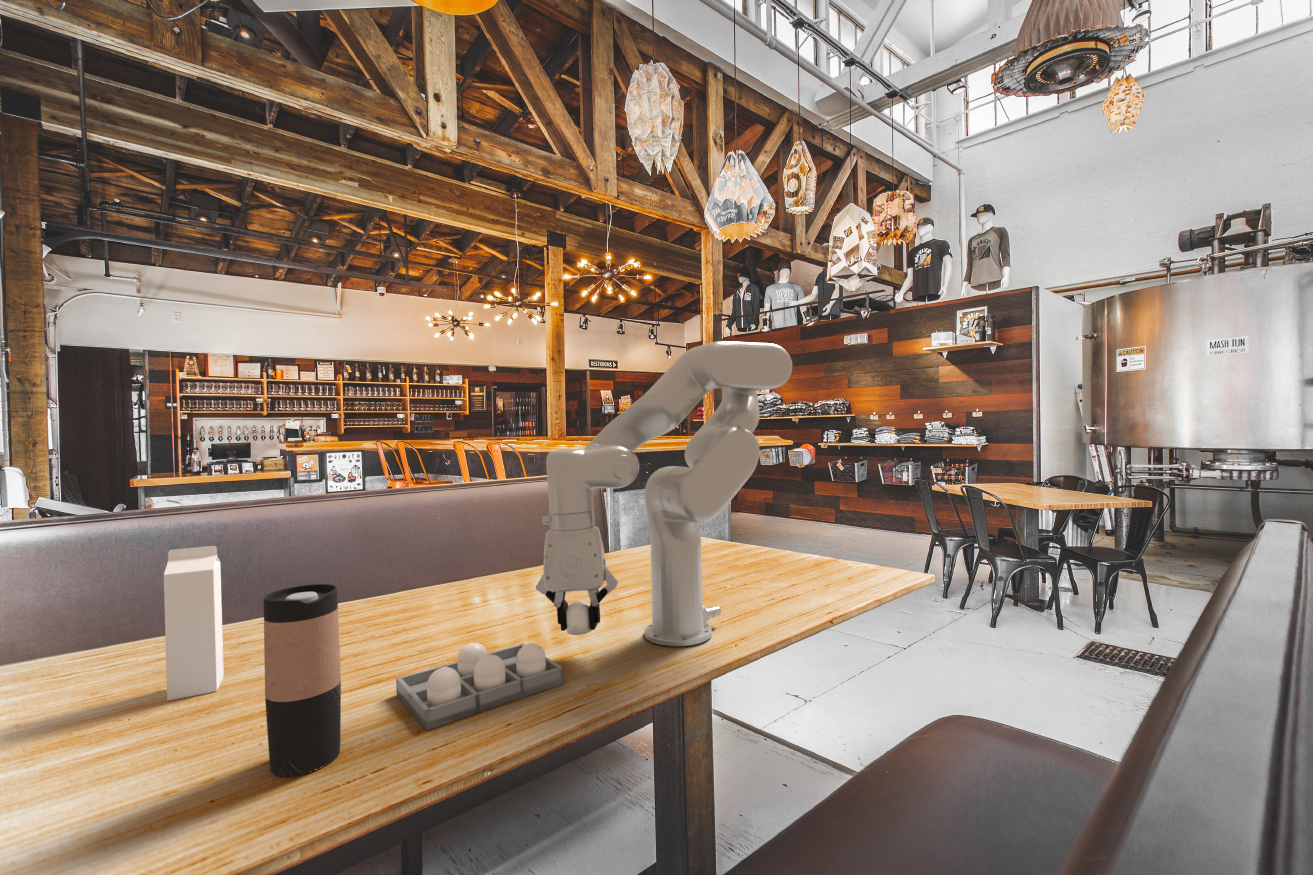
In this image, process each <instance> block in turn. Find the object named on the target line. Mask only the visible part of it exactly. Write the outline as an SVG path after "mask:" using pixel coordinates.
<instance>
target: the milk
mask: <svg viewBox="0 0 1313 875" xmlns="http://www.w3.org/2000/svg"><path fill="white" fill-rule="evenodd" d="M221 566H222V565H221V561H220V558H219V557H218V548H217V546H215V545H208V546H198V547H189V548H188V547H187V548H186V547H185V548H178V549H176V548H175V549H169V551H168V552H167V563H166V566H165V568H164V569H165V570H164V572H163V592H164V593H163V595H164V596H163V598H164V632H165V638H164V639H165V660H166V661H165V664H166V666H165V667H166V668H165V669H166V698H167V700H166V701H168V700H170V701H174V699H175V700H178V699H179V698H180V699H183V698H184V697H185V698H190V697H195V696H199V695H200V696H201V695H206V694H210V693H216V692H218V690H219V687H221V686H220V685H221V683H222V682H223V679H224V677H225V676H224V675H225V673H224V643H223V641H224V640H223V638H224V637H223V608H222V606H223V605H222V573H221V572H222V571H221V570H222V568H221Z"/></svg>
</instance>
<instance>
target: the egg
mask: <svg viewBox="0 0 1313 875" xmlns="http://www.w3.org/2000/svg"><path fill="white" fill-rule="evenodd" d="M589 606H590V605H589V604H588V603H587V602H586V601H583V600H575V601H573V602H571V603H570V604H568V608H567V610H566V627H567V629H566V633H567V634H568V635H571V636H581V635H585V634H589V633H590V632H592V631H593V630H591V629H590V623H589Z"/></svg>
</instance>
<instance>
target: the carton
mask: <svg viewBox="0 0 1313 875" xmlns="http://www.w3.org/2000/svg"><path fill="white" fill-rule="evenodd" d="M456 659H457V660H456V661H454V662H449V663H446V664H443V665H440V666H435V667H432V668H428V669H425V670H420V671H417V672H413V673H411V674H407V675H403V676H399V677H396V678H395V681H396V682H395V683H396V688H395V689H396V696H397V697H398V698H399V700H400V701H401V702H402V703H403V705H404V706H405V707H406V708H407V710H408V711H409V712H410V713H411V714H412V716H414V718H415V719H416V720H417V721H418V722H419V724H420V725H421V726H422V727H423V728H424V730H425V731H429V730H431V729H435V728H439V727H440V726H444V725H447V724H450V723H453V722H456V721H459V720H461V719H465V718H467V717H470V716H472V715H474V716H475V715H477V714H479V713H483V712H485V711H488V710H492V709H494V708H497V707H499V706H500V707H501V706H503V705H506V704H510V703H512V702H515V701H518V700H520V699H523V698H526V697H529V696H533V695H535V694H538V693H541V692H543V691H547V690H550V689H553V688H557V687H558V686H563V685H564V684H565V674H564V671H565V670H564V669H565V668H564V667H563V666H562V665H560V664H559V663H556V662H555V661H553V660H551V658H549V657H546V653H545V650H544V648H543V647H542V646H541V645H539V644H537V643H533V642H532V643H527V644H524V643H520V644H516V645H512V646H509V647H506V648H501V649H497V650H494V651H490V652H487V650H486V648H485V647H484V646H483V645H482V644H481V643H478V642H470V643H467V644H466V645H464V646H463V647H462V648H461V649H460V651H459V652H458V655H457V658H456Z"/></svg>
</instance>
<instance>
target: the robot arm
mask: <svg viewBox="0 0 1313 875" xmlns="http://www.w3.org/2000/svg"><path fill="white" fill-rule="evenodd" d="M792 372H793V361H792V358H791V356H790V353H788V351H787V350H786V349H785V348H784V347H782V346H780V345H778V344H775V343H768V342H748V341H730V340H728V341H727V340H719V341H712V342H709V343H704V344H702V345H698V346H695V347H692V348H689V349H688V350H686V351H685V352H684V353H683V354H682V355H680V356H679V357H678V358H677V360H675V362H674V363H673V364H672V365H671V366H670V367H669V368H668V369H667V370H666V371H665V372H664V373H663V374H662V375H661V376H660V377H659V379H657V381H656V382H655V383H654V384H653V385H652V386H651V387H650V388H649V389H648V390H647V391H646V392H645V393H644V394H643V395H642V396H641V397H640V398H638V399H637V400H636V401H634V402H633V403H632V404H631V405H630V406H628V408H626V409H625V410H623V412H621V413H619V415H617V416H616V417H614V419H612V420H611V421H610V422H609V423H608V424H606V426H605V427H603V428H602V430H600V431H599V433H597V435H596V436H595V437H594V438H593V439H592V440H591V441H590V442H589V443H588V444H587V445H586V446H585V447H584V448H571V449H570V448H569V449H568V448H567V449H557V450H553V451H551V452H549V453H548V454H547V456H546V458H545V460H546V461H545V462H546V464H545V465H546V466H545V467H546V479H547V480H546V482H547V492H548V493H547V494H548V495H547V496H548V511H549V512H548V514H547V515H543V516H541V524H543V525H548V526H549V527H548V528H549V530H547V531H546V532H545V537H544V547H543V574H542V576H541V577H540V579H539V580H538V582H537V584H536V586H535V590H536V591H538V592H539V593H541V594H542V595H544V596H545V597H546V598H547V599H548V600H549V601H550V602H551V603H552V604H553V606H554V607H555V608H556V615H557V624H558V625H560V630H561V631H567V627H566V610H567V608H568V606H569V603H568V602H567V600H566V595H567V592H582V591H585V592H586V591H587V594H588V596H589V597H588V598H589V600H590V603H589V604H590V605H589V623H590V629H591V630H592V631H595V630H596V628H597V626H598V624H600V622H601V609H600V607H601V606H600V603H601V602H602V601H603V599H604V598H605V597H606V596H607V595H608V594H609V593H611V592H612V591H614V589H616V588H617V587H618V586H619V581H618V580H617V579H616V578H615V576H614V575H613V574H612V573H611V571H610V570H609V568H608V567H607V562H606V556H605V549H604V543H603V540H602V535H601V532H600V527H598V526H596V522H595V520H596V519H595V505H594V491H593V489H621V488H622V489H623V488H624V487H627V486H629V485H630V484H632V483H633V482H634V481H635V480H636V479H637V477H638V475H639V472H640V461H639V458H638V456H637V454H635V451H636V450H637V449H638V448H640V447H641V446H643V445H644V444H645V443H649V441H652V440H653V439H656V438H658V437H661V436H663V435H665V434H667V433H669V432H671V431H672V430H674V429H676V428H677V427H678V426H679V425H680V424H681V423H682V422H683V421H684V420H685V418H686V417H687V416H688V415H689V414H690V412H692V411H693V409H695V407H696V406H697V405H698V404H699V402H700V401H702V399H703V398H704V397H705V396H706V395H707V393H709V392H710V391H712V390H715V389H721V390H722V399H721V403H720V404H719V405H718V407H717V408H716V409H715V411H714V412H713V413H712V415H711V416H710V417H709V418H708V419H707V420H706V421H705V422H704V423H703V425H702V426H700V428H699V429H698V430H697V431H696V432H695V433H694V434H693V435H692V437H691V438H690V439H689V441H688V442H687V444H686V446H685V449H684V450H685V451H684V460H685V462H686V464H687V466H679V465H670V466H664V467H661V468H658V469H657V470H655V471H654V472H653V473H652V474H651V475H650V476H649V478H648V479H647V481H646V484H645V489H644V501H645V502H644V503H645V509H646V513H647V518H648V525H649V535H650V536H649V537H650V539H649V541H650V543H649V544H650V573H651V574H650V576H651V577H650V578H651V583H650V585H651V616H652V619H651V620H652V622H651V623H649V624H648V625H646V627H645V628H644V638H646V640H647V641H649V642H650V643H652V644H656V645H658V646H664V647H665V646H666V647H688V646H689V647H690V646H694V645H698V644H702V643H703V642H706V641H708V640H710V638H712V635H713V632H712V631H713V628H712V627H711V625H710V624H708V621H710V619H711V618H715V617H718V616H721V614H722V613H721V612H722V610H721V608H720V606H718V605H714V606H711V607H708V608H707V607H706V606H705V605H704V602H703V598H704V597H703V571H702V570H703V569H702V565H703V564H702V562H703V561H702V536H701V530H700V526H699V524H700V523H706V522H709V521H711V520H713V519H715V518H717V516H718V515H719V514H720V513H722V511H723V510H725V508H726V507H727V506H728V505H729V503H730V502H731V501H732V500H733V498H734V497H735V496H737V494H738V493H739V491H740V490H741V489H742V487H743V486H744V485H745V484H746V482H748V480H749V479H750V478H751V476H752V475H753V473H754V472H755V470H756V468H757V465H758V462H759V458H760V445H759V441H758V439H757V437H756V435H754V431H755V430H756V429H757V426H758V425H759V422H760V405H759V397H758V392H760V391H767V390H768V391H769V390H773V389H774V390H775V389H777V388H778V389H779V388H780V387H781V386H783V385H785V384H786V383H787V381H788V380H789V379H790V377H791V375H792ZM605 582H606V585H604V586H603V584H604V583H605ZM602 586H603V587H602ZM601 587H602V588H601ZM600 588H601V589H600ZM561 631H560V632H561Z"/></svg>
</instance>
